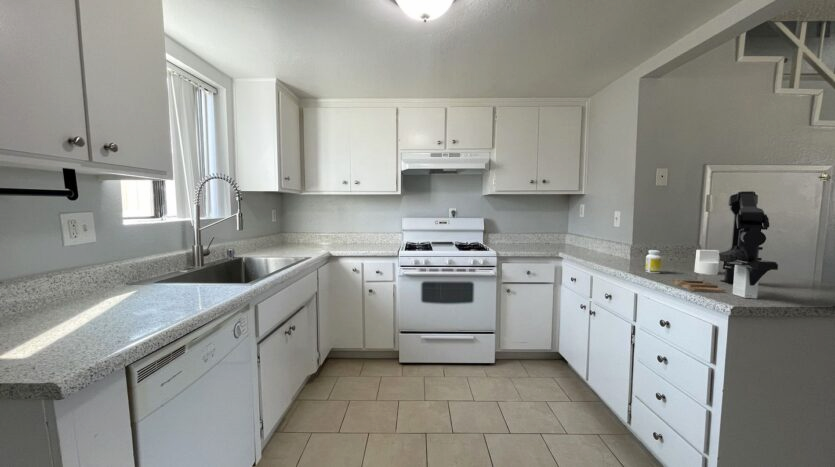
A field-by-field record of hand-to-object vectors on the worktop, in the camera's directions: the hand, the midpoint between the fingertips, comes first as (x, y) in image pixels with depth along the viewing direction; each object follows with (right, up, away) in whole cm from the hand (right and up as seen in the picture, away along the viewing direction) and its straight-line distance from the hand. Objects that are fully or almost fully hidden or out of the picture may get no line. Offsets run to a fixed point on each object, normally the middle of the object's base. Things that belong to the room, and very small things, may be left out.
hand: (744, 283), depth 121 cm
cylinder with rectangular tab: (+24, -1, +42) cm, 48 cm away
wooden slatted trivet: (-7, -4, +13) cm, 15 cm away
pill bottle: (-3, -1, +43) cm, 43 cm away
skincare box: (0, -5, 0) cm, 5 cm away
